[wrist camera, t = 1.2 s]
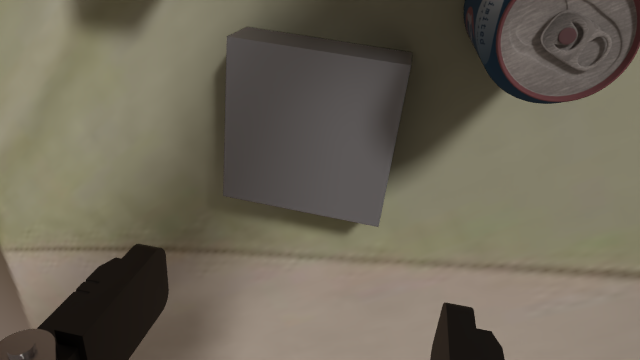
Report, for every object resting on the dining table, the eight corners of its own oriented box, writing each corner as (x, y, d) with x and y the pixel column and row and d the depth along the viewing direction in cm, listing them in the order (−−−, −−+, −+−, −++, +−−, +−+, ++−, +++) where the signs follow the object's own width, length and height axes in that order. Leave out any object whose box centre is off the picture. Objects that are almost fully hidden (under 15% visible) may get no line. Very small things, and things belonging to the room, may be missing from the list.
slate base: (246, 26, 35) (226, 36, 31) (412, 52, 33) (411, 65, 30) (240, 173, 40) (223, 195, 37) (382, 201, 39) (378, 226, 35)
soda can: (440, 24, 32) (449, 63, 22) (509, -80, 29) (559, -92, 18) (526, 78, 33) (575, 143, 22) (603, -18, 29) (705, 5, 19)
